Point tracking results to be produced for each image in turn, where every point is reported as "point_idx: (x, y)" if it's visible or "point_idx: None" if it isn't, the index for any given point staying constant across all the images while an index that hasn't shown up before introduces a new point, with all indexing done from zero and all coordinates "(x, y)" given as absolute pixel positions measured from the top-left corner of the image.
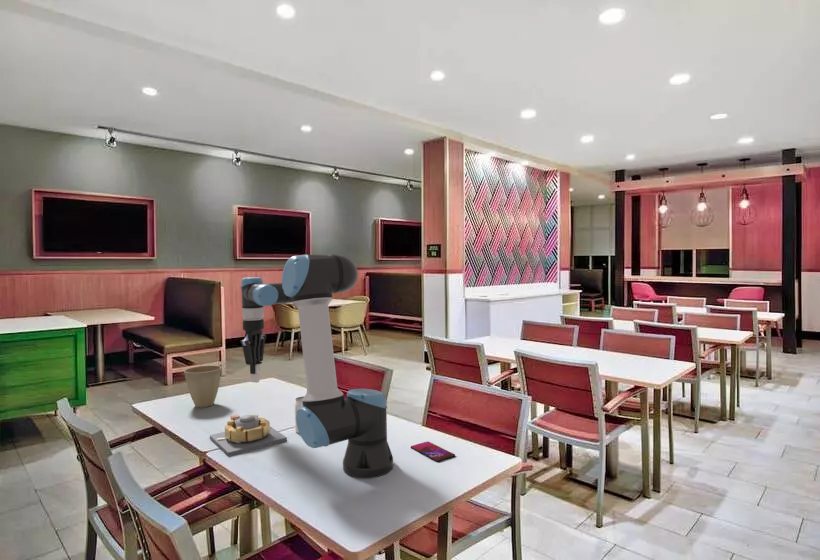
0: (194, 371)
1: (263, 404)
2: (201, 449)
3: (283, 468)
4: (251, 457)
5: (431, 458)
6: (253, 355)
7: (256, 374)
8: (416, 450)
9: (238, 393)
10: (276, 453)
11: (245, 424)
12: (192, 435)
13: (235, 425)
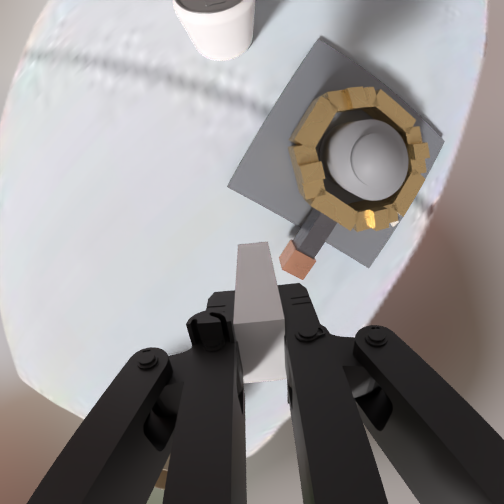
0: (165, 481)
1: (93, 314)
2: (421, 231)
3: (431, 6)
4: (427, 83)
5: None
6: (362, 431)
7: (273, 271)
8: None
9: (91, 395)
10: (391, 36)
11: (402, 143)
12: (352, 317)
13: (363, 207)
